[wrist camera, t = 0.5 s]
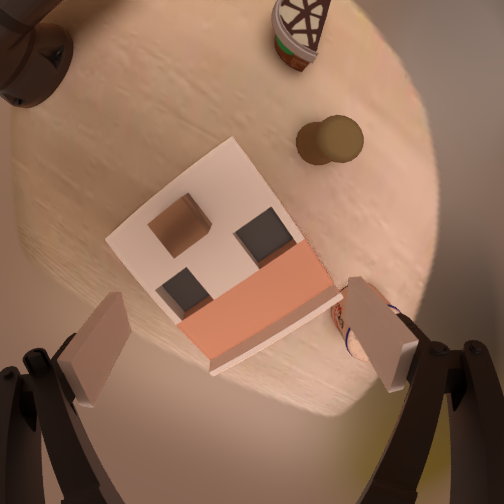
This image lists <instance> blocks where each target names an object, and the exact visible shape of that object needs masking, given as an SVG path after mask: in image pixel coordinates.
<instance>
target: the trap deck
mask: <svg viewBox="0 0 504 504" xmlns="http://www.w3.org/2000/svg"><path fill="white" fill-rule="evenodd" d="M187 193H189V194H190V195H191V197H192V198H193V199H194V201H195V202H196V203H197V204H198V206H199V207H200V208H201V210H202V211H203V212H204V214H205V215H206V216H207V218H208V219H209V220H210V222H211V223H212V226H211V228H210V231H209V233H208V234H207V235H205V236H204V237H203V238H201V239H200V240H199V241H197V242H196V243H195V244H193V245H192V246H191V247H189V248H188V249H187V250H185V251H184V252H183V253H181V254H180V255H179V256H177V257H176V258H175V259H174V258H173V257H172V256H171V254H170V253H169V252H168V251H167V249H166V248H165V247H164V246H163V244H162V243H161V242H160V241H159V239H158V238H157V237H156V235H155V234H154V233H153V232H152V230H151V229H150V228H149V226H148V225H147V224H148V223H150V222H151V221H152V220H153V219H154V218H156V217H157V216H158V215H159V214H160V213H162V212H163V211H164V210H165V209H167V208H168V207H169V206H170V205H172V204H173V203H174V202H175V201H177V200H178V199H179V198H180V197H182V196H184V195H185V194H187ZM105 241H106V242H107V244H108V245H109V246H110V247H111V249H112V250H113V251H114V253H115V254H116V255H117V256H118V258H119V259H120V260H121V261H122V263H123V264H124V265H125V266H126V268H127V269H128V270H129V271H130V273H131V274H132V275H133V276H134V277H135V279H136V280H137V281H138V282H139V283H140V285H141V286H142V287H143V288H144V289H145V291H146V292H147V293H148V294H149V295H150V296H151V298H152V299H153V300H154V301H155V302H156V303H157V304H158V306H159V307H160V308H161V309H162V310H163V311H164V312H165V313H166V314H167V316H168V317H169V318H170V319H171V320H172V321H173V322H174V323H175V324H176V325H177V326H178V328H179V329H180V330H181V331H182V332H183V333H184V334H185V335H186V336H187V337H188V338H189V339H190V340H191V341H192V342H193V343H194V344H195V345H196V346H197V347H198V348H199V349H200V350H201V351H202V352H203V353H204V354H205V355H206V356H207V357H208V358H209V359H210V368H209V373H210V374H211V375H212V376H215V375H217V374H219V373H221V372H223V371H225V370H227V369H228V368H230V367H232V366H234V365H236V364H238V363H239V362H241V361H243V360H245V359H247V358H248V357H250V356H252V355H254V354H255V353H257V352H259V351H261V350H262V349H264V348H266V347H267V346H269V345H271V344H273V343H274V342H276V341H278V340H279V339H281V338H283V337H284V336H286V335H287V334H289V333H291V332H292V331H294V330H296V329H297V328H299V327H300V326H302V325H304V324H305V323H307V322H308V321H310V320H311V319H313V318H315V317H316V316H318V315H319V314H321V313H322V312H324V311H325V310H327V309H328V308H330V307H331V306H333V305H334V304H336V303H337V302H339V301H340V300H342V299H343V298H344V297H343V296H342V294H341V293H340V291H339V290H338V289H337V287H336V286H335V284H334V283H333V281H332V280H331V278H330V277H329V275H328V273H327V272H326V270H325V269H324V267H323V266H322V264H321V263H320V261H319V259H318V258H317V256H316V255H315V253H314V252H313V250H312V249H311V247H310V246H309V244H308V243H307V241H306V240H305V238H304V237H303V235H302V234H301V232H300V231H299V229H298V228H297V226H296V225H295V223H294V222H293V220H292V219H291V217H290V216H289V214H288V213H287V212H286V210H285V209H284V207H283V206H282V204H281V203H280V201H279V200H278V198H277V197H276V196H275V194H274V193H273V191H272V190H271V189H270V187H269V186H268V184H267V183H266V181H265V180H264V179H263V177H262V176H261V174H260V173H259V172H258V170H257V169H256V167H255V166H254V165H253V163H252V162H251V161H250V159H249V158H248V156H247V155H246V154H245V152H244V151H243V150H242V148H241V147H240V146H239V144H238V143H237V142H236V140H235V139H234V138H233V136H231V137H230V138H228V139H227V140H225V141H224V142H223V143H221V144H220V145H218V146H217V147H216V148H214V149H213V150H212V151H210V152H209V153H207V154H206V155H205V156H203V157H202V158H201V159H199V160H198V161H197V162H195V163H194V164H193V165H192V166H190V167H189V168H188V169H186V170H185V171H184V172H182V173H181V174H180V175H179V176H177V177H176V178H175V179H174V180H172V181H171V182H170V183H169V184H167V185H166V186H165V187H164V188H162V189H161V190H160V191H159V192H158V193H156V194H155V195H154V196H153V197H152V198H150V199H149V200H148V201H147V202H146V203H145V204H143V205H142V206H141V207H140V208H139V209H138V210H136V211H135V212H134V213H133V214H132V215H131V216H130V217H129V218H127V219H126V220H125V221H124V222H123V223H122V224H121V225H120V226H119V227H117V228H116V229H115V230H114V231H113V232H112V233H111V234H110V235H109V236H108V237H107V238H106V239H105Z"/></svg>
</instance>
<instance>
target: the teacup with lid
mask: <svg viewBox="0 0 504 504" xmlns="http://www.w3.org/2000/svg"><path fill="white" fill-rule="evenodd" d="M367 284H368V283H367ZM368 285H369V286H370V287H371V288H372V289H373V290H374V291H375V292H376V293H377V294H378V296H379V297H380V298H381V299H382V300H383V301H384V302H385V303H386V304H387V305H388V306H389V307H390V309H391V310H392V311H393V312H394V313H395V314H397V313H401V312H400V311H399V310H398V309H397V308H396V307H394V306H392V305H391V304H390V303H389V302H388V301H387V300H386V299H385V297H384V296H383V295H382V294H381V293H380V292H379V291H378V290H377V289H376V288H375V287H373V286H372V285H370V284H368ZM347 291H348V286H347V287H346V288H344V289H343V290H342V291H341V292H340V293H341V294H342V296H343V297H344V298H343V299H342V300H340V301H339V302H337V303H336V304H334V305H333V306H332V310H331V314H332V318H333V321H334V323H335V324H336V326H337V328H338V330H339V332H340V333H341V335H342V337H343V339H344V341H345V343H346V348H347V350H348V352H349V353H350V354H351V355H352V356H353V357H355V358H357V359H359V360H363V361H370V360H369V358H368V357H367V355H366V353H365V352H364V350H363V348H362V347H361V345H360V343H359V342H358V340H357V338H356V337H355V335H354V333H353V332H352V330H351V328H350V327H349V325H348V324H347V322H346V320H345V311H346V302H347Z"/></svg>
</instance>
